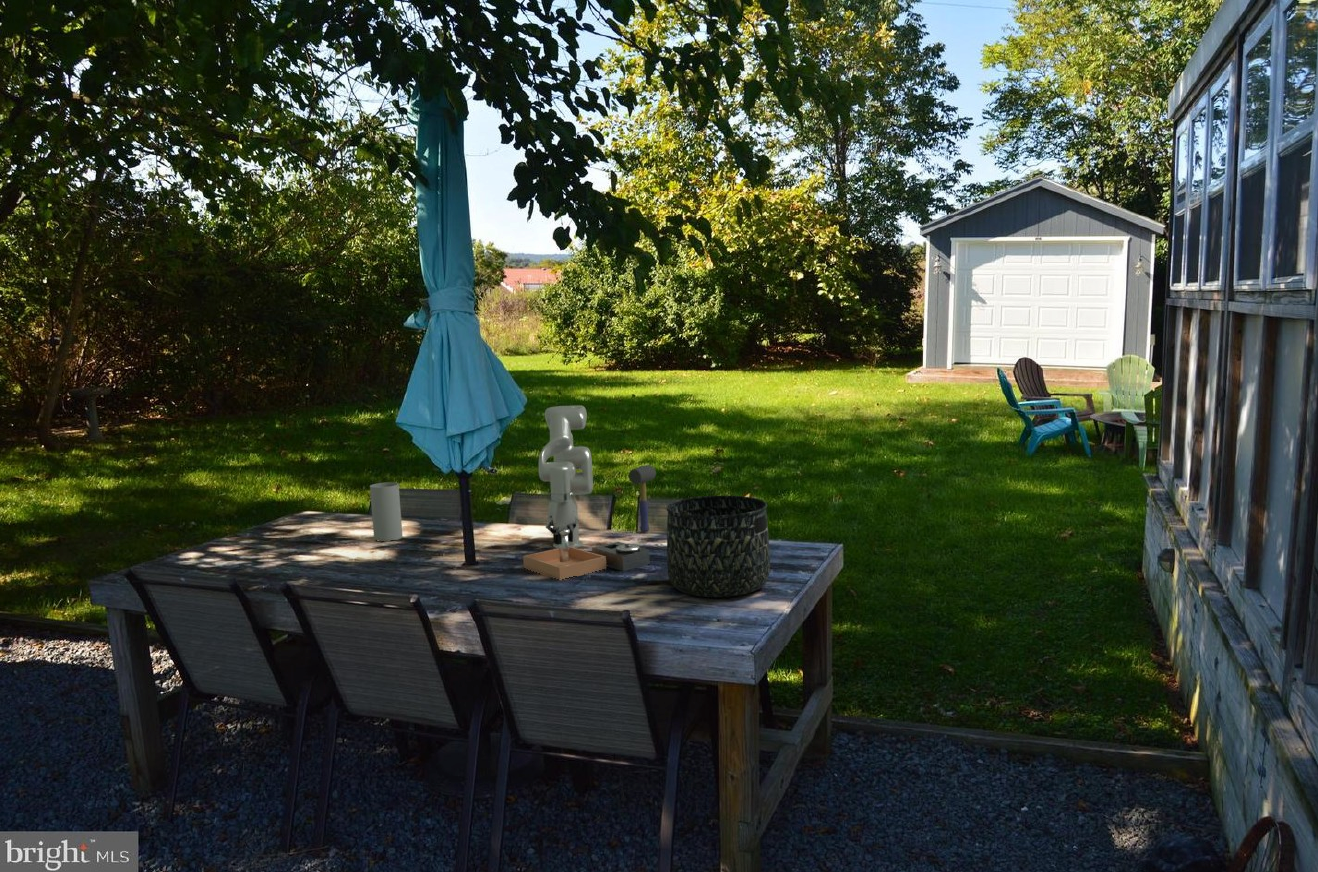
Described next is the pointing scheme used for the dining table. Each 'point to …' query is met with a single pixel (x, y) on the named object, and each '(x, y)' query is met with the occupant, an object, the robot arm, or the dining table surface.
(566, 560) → the lock pin
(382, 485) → the cylinder vase
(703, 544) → the basket
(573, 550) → the tray
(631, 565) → the pulley bracket
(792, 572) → the dining table surface
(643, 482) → the rubber mallet
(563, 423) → the robot arm
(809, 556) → the dining table surface
